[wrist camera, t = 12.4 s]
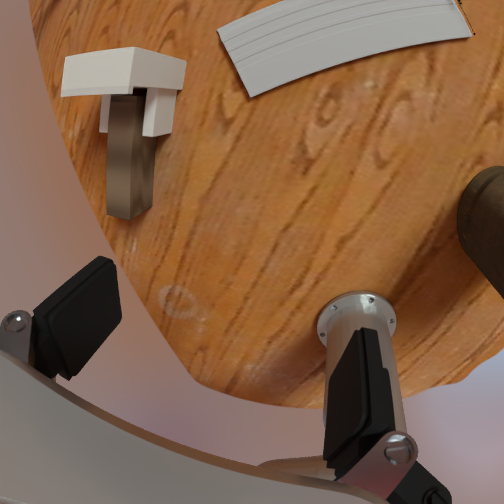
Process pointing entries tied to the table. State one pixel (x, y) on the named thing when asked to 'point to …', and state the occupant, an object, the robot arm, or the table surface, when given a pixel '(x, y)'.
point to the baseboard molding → (331, 35)
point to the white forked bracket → (128, 82)
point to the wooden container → (484, 224)
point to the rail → (129, 159)
